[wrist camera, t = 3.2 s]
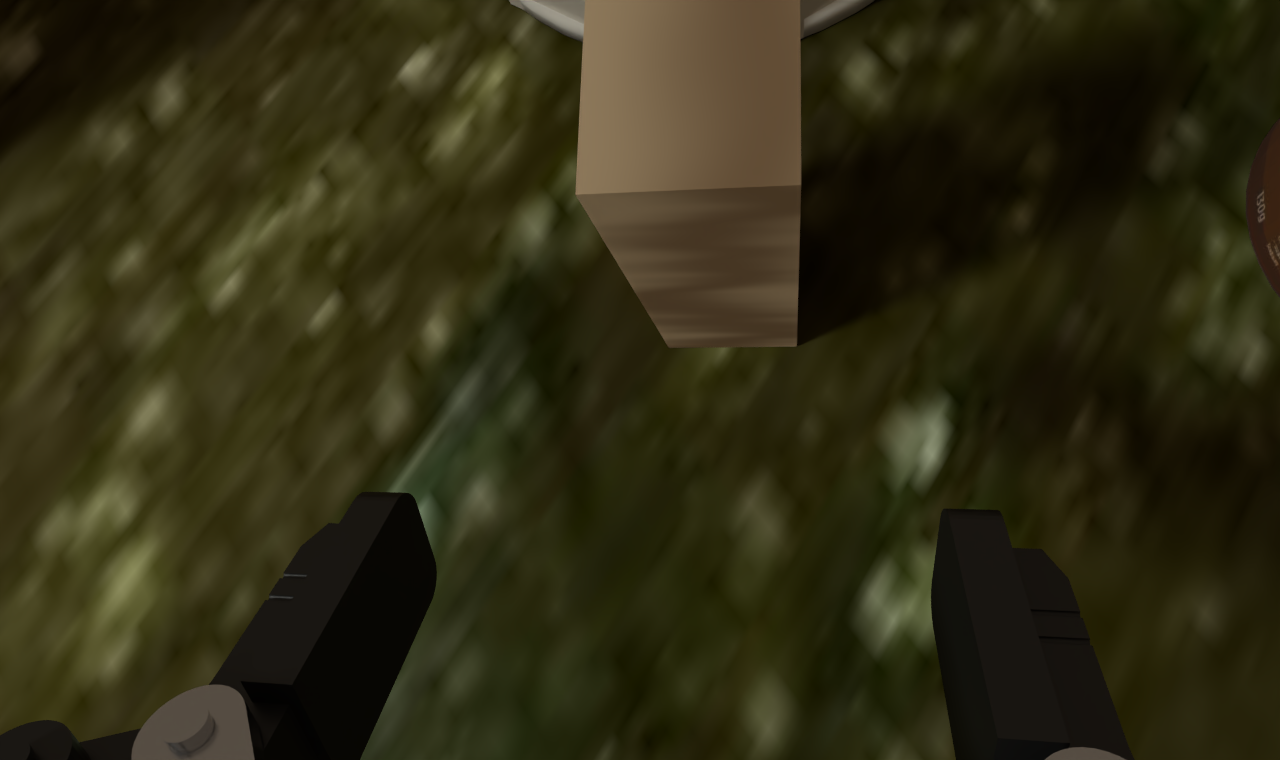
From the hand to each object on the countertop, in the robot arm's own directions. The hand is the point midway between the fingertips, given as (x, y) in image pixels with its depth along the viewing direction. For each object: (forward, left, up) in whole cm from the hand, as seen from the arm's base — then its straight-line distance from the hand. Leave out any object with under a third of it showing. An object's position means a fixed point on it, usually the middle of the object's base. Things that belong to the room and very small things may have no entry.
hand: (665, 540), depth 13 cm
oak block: (0, +8, -13) cm, 15 cm away
